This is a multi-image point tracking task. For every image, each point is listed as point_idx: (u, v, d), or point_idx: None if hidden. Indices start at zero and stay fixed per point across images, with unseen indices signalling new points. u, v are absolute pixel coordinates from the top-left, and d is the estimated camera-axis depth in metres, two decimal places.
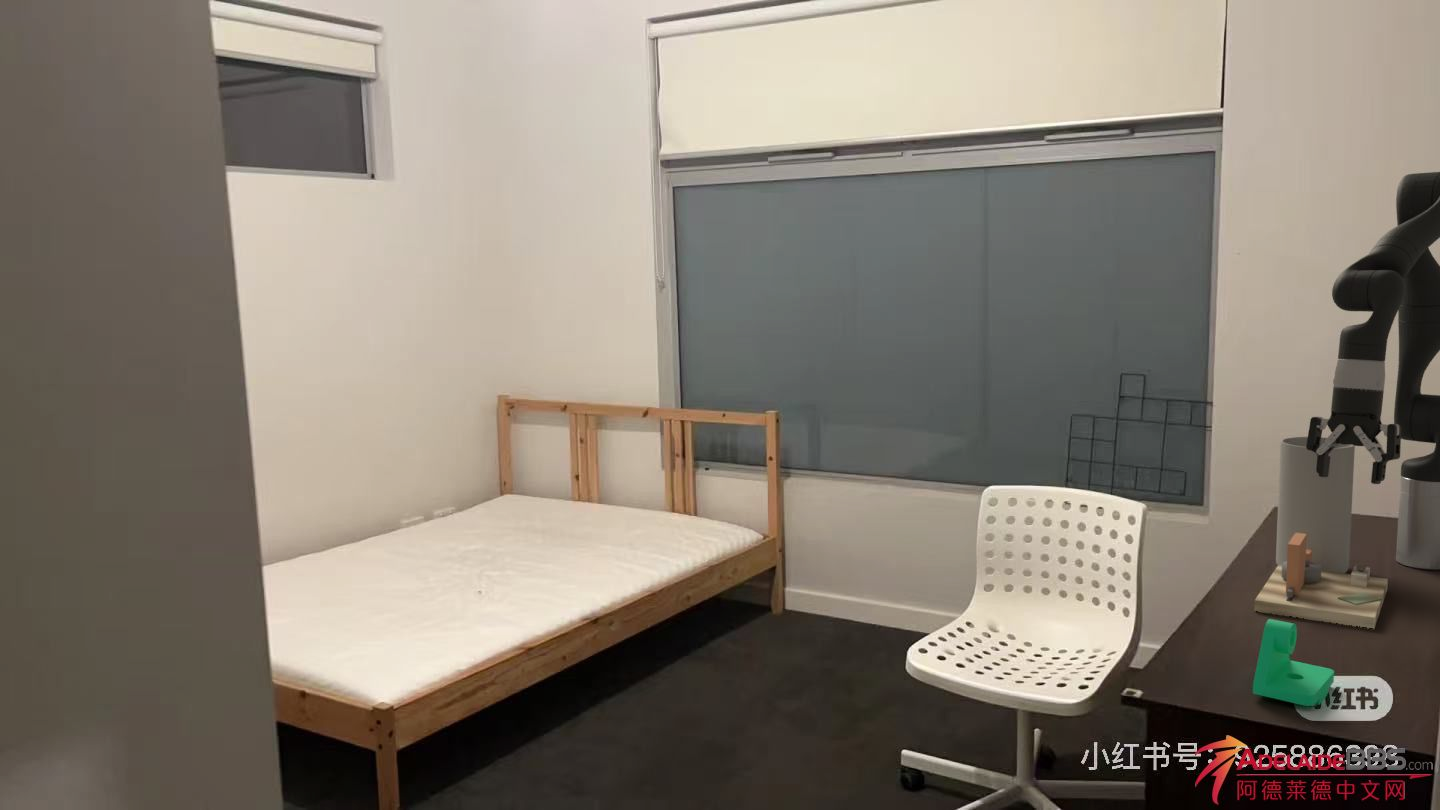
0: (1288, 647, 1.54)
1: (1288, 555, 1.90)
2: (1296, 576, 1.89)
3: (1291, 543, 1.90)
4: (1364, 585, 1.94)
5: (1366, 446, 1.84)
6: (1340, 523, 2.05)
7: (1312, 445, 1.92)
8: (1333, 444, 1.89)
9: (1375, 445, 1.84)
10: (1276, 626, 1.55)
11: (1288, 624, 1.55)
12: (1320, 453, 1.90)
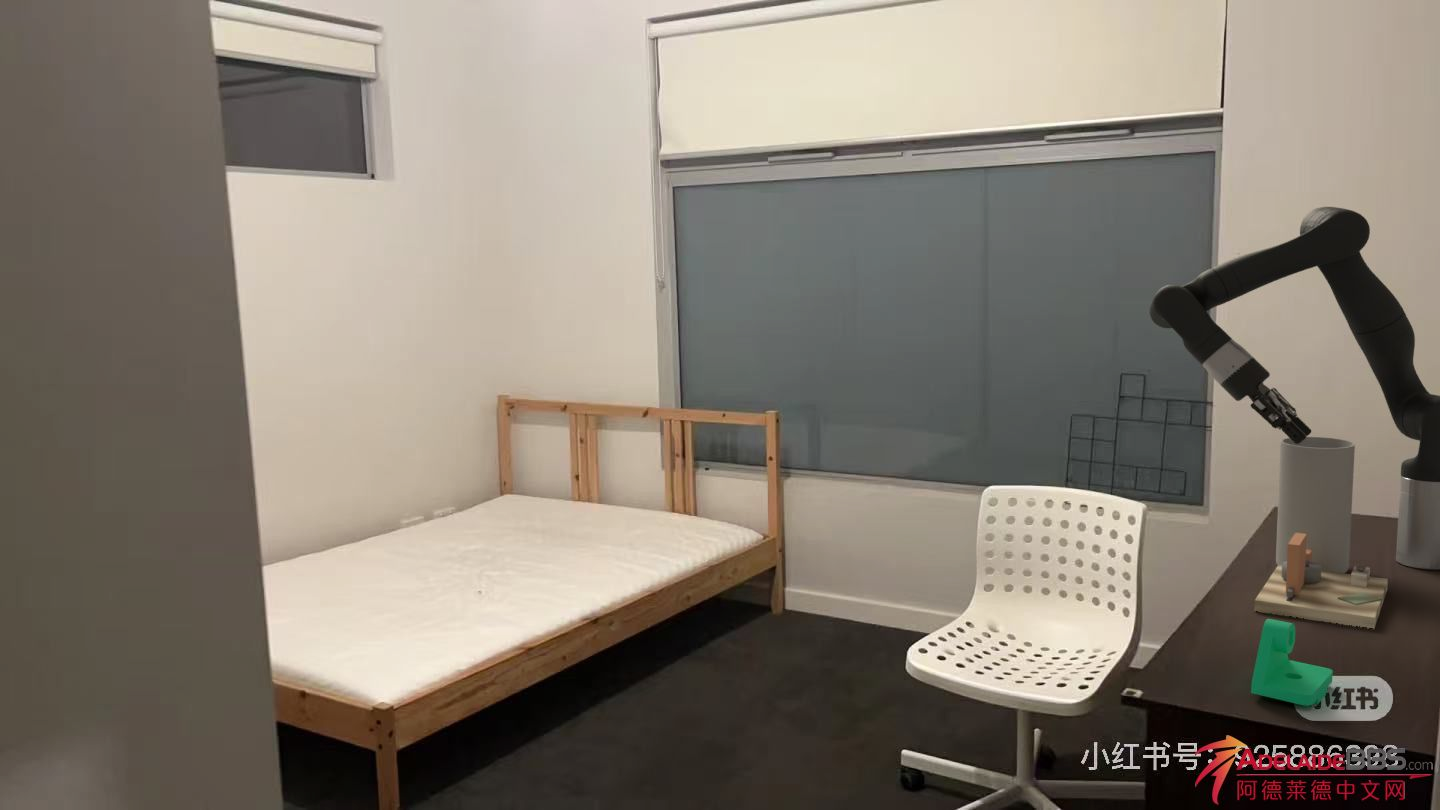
0: (1286, 647, 1.54)
1: (1288, 555, 1.90)
2: (1296, 576, 1.89)
3: (1291, 543, 1.90)
4: (1364, 585, 1.94)
5: None
6: (1340, 523, 2.05)
7: None
8: None
9: (1271, 415, 1.96)
10: (1274, 626, 1.55)
11: (1286, 623, 1.55)
12: None
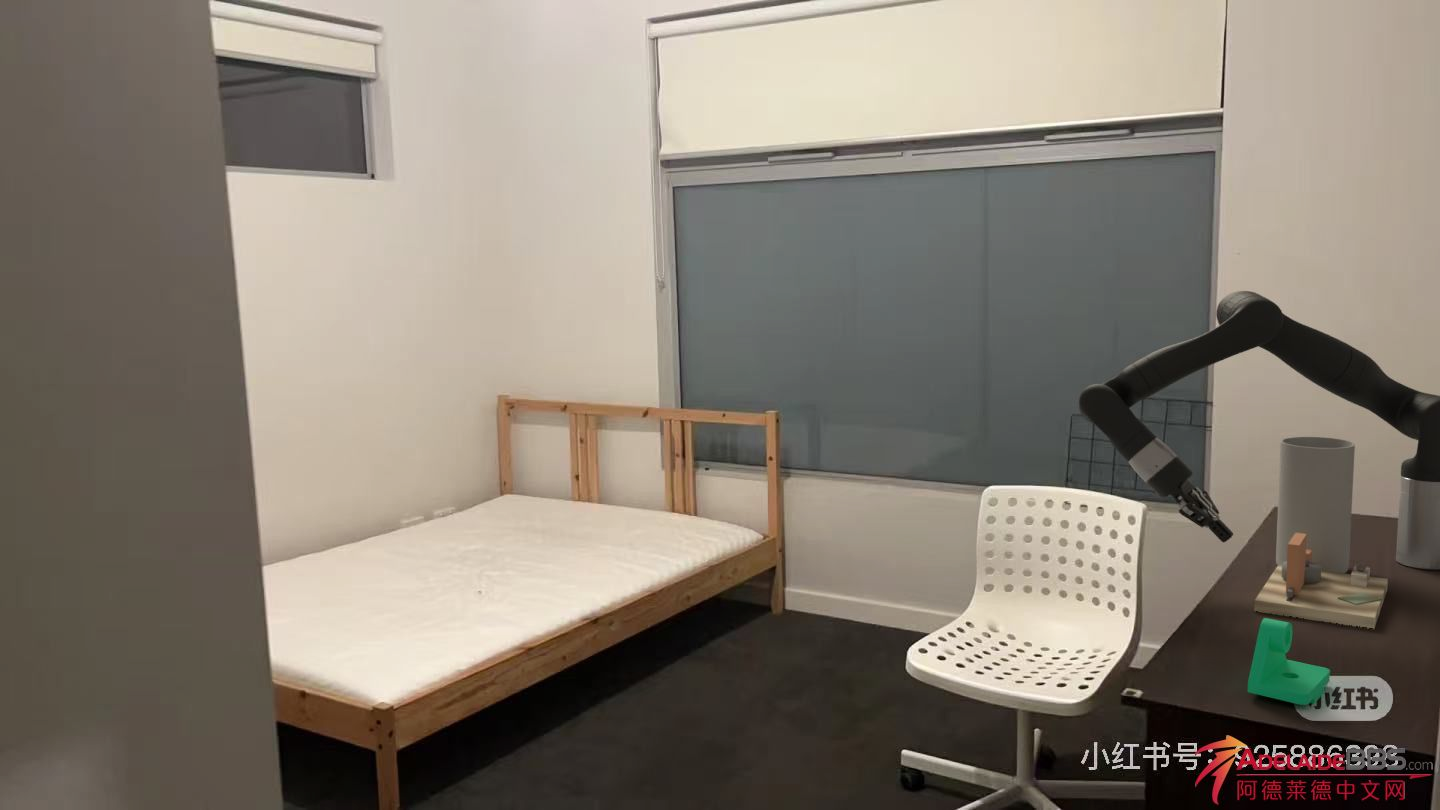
0: (1283, 646, 1.54)
1: (1288, 555, 1.90)
2: (1296, 576, 1.89)
3: (1291, 543, 1.90)
4: (1364, 585, 1.94)
5: None
6: (1340, 523, 2.05)
7: None
8: None
9: None
10: (1271, 625, 1.56)
11: (1283, 623, 1.55)
12: None
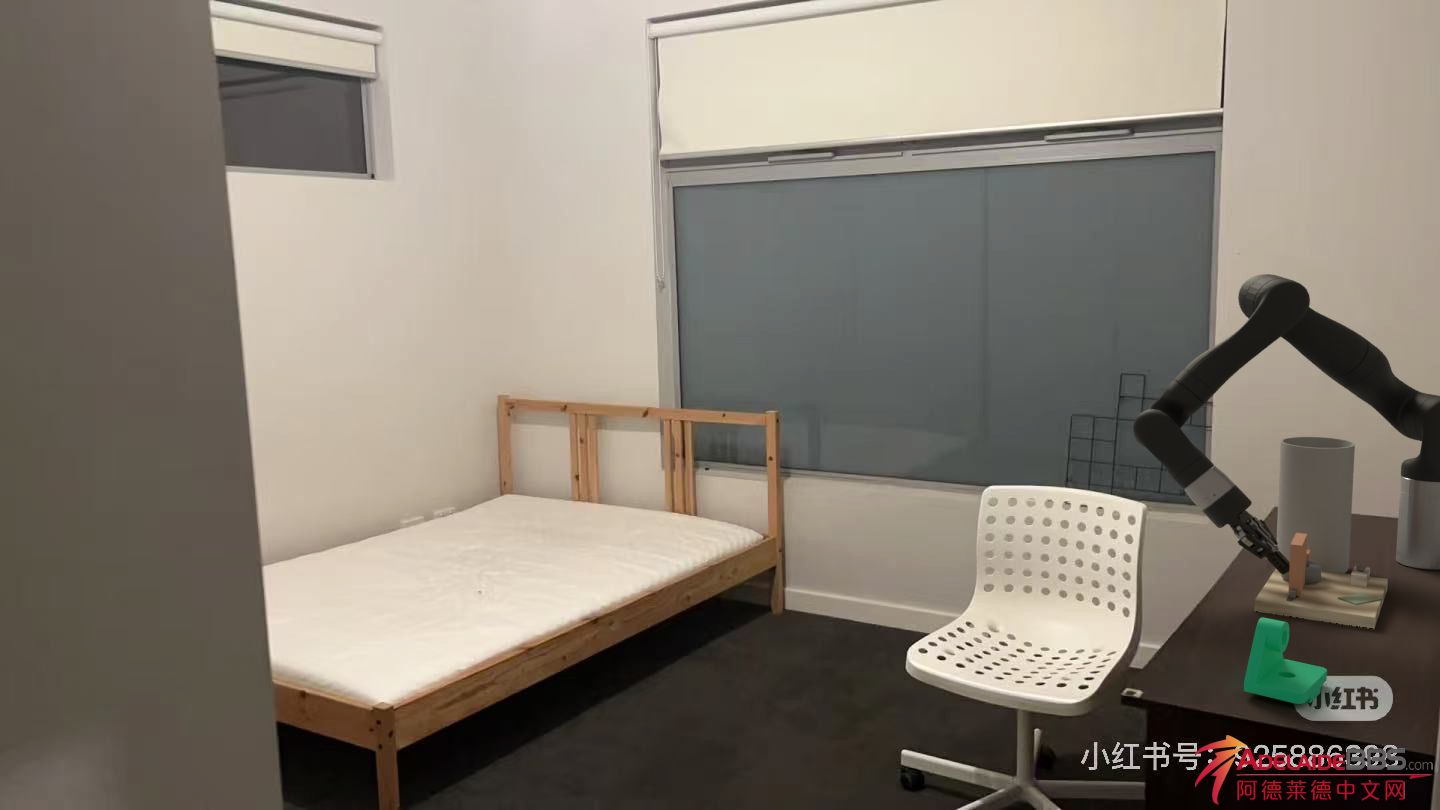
0: (1280, 645, 1.55)
1: (1291, 555, 1.89)
2: (1299, 576, 1.89)
3: (1294, 543, 1.89)
4: (1364, 585, 1.94)
5: None
6: (1340, 523, 2.05)
7: None
8: None
9: None
10: (1268, 624, 1.56)
11: (1280, 622, 1.56)
12: None
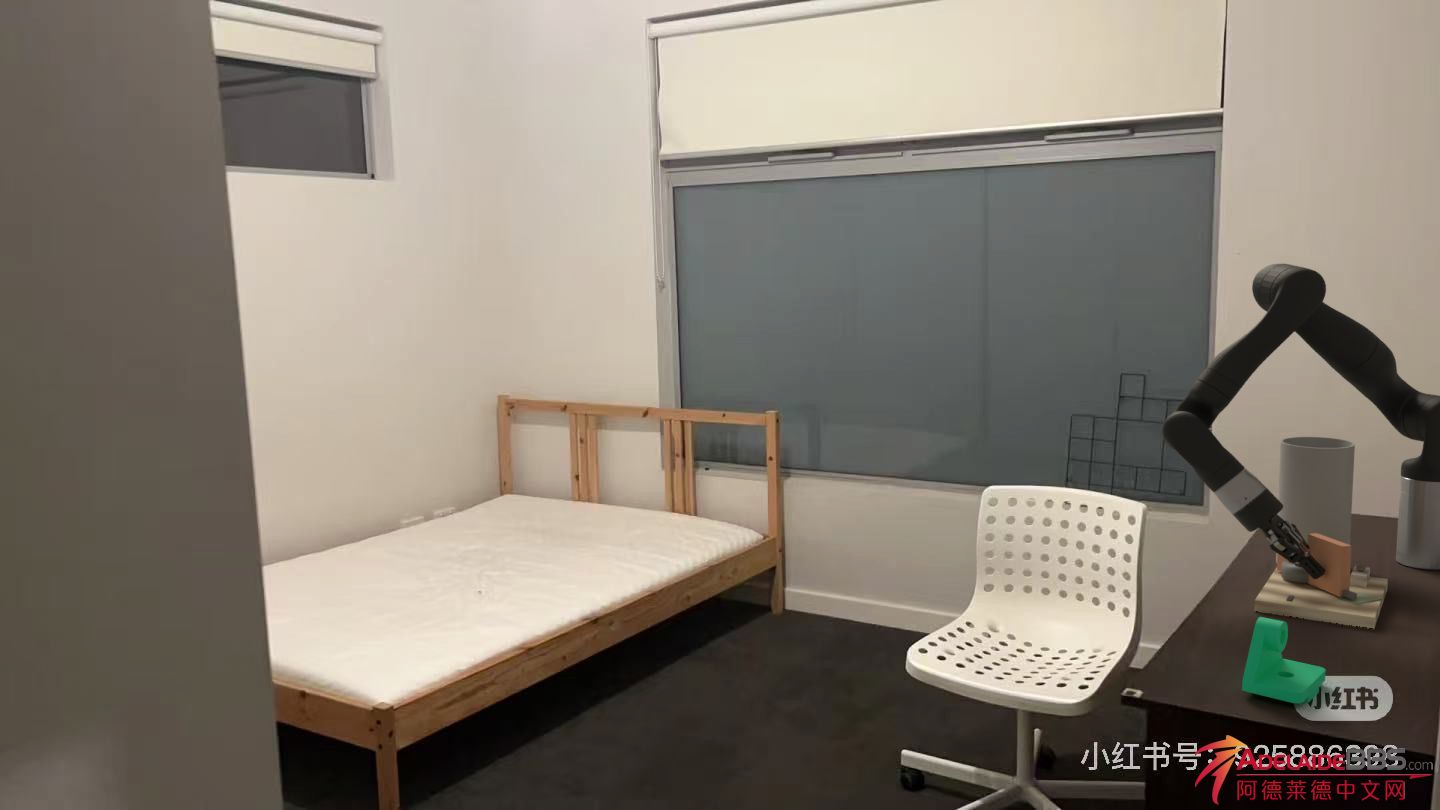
0: (1278, 645, 1.55)
1: (1342, 557, 1.87)
2: (1348, 577, 1.88)
3: (1342, 545, 1.88)
4: (1364, 585, 1.94)
5: None
6: (1340, 523, 2.05)
7: None
8: None
9: None
10: (1266, 624, 1.56)
11: (1278, 622, 1.56)
12: None
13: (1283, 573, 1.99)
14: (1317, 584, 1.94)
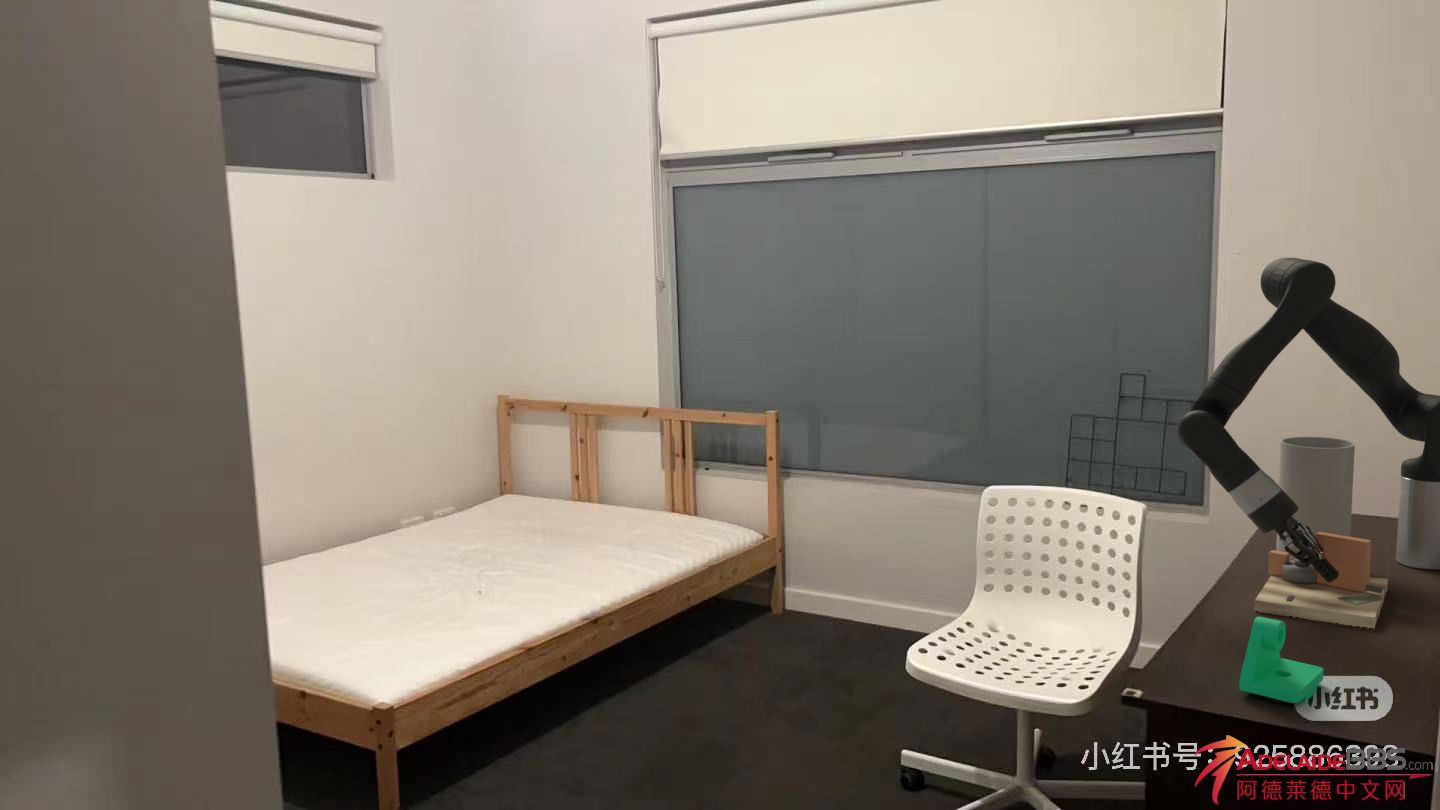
0: (1275, 644, 1.55)
1: (1366, 553, 1.89)
2: (1369, 571, 1.91)
3: (1364, 541, 1.90)
4: None
5: None
6: (1340, 523, 2.05)
7: None
8: None
9: None
10: (1264, 624, 1.56)
11: (1276, 621, 1.56)
12: None
13: (1289, 576, 1.98)
14: (1330, 582, 1.94)
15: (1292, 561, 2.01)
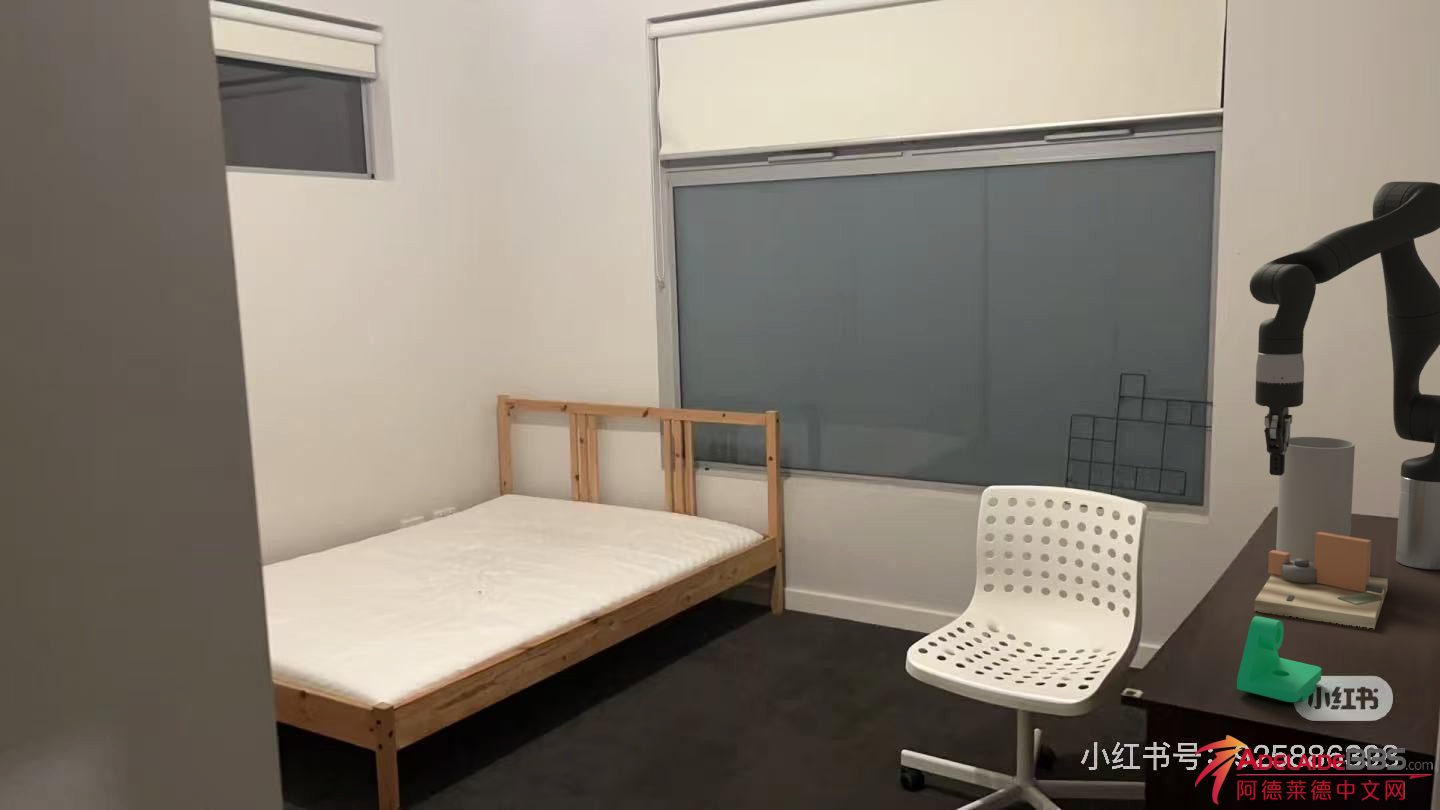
0: (1273, 644, 1.55)
1: (1366, 553, 1.89)
2: (1369, 571, 1.91)
3: (1364, 541, 1.90)
4: None
5: None
6: (1340, 523, 2.05)
7: None
8: None
9: None
10: (1261, 623, 1.57)
11: (1274, 621, 1.56)
12: None
13: (1289, 576, 1.98)
14: (1330, 582, 1.94)
15: (1292, 561, 2.01)
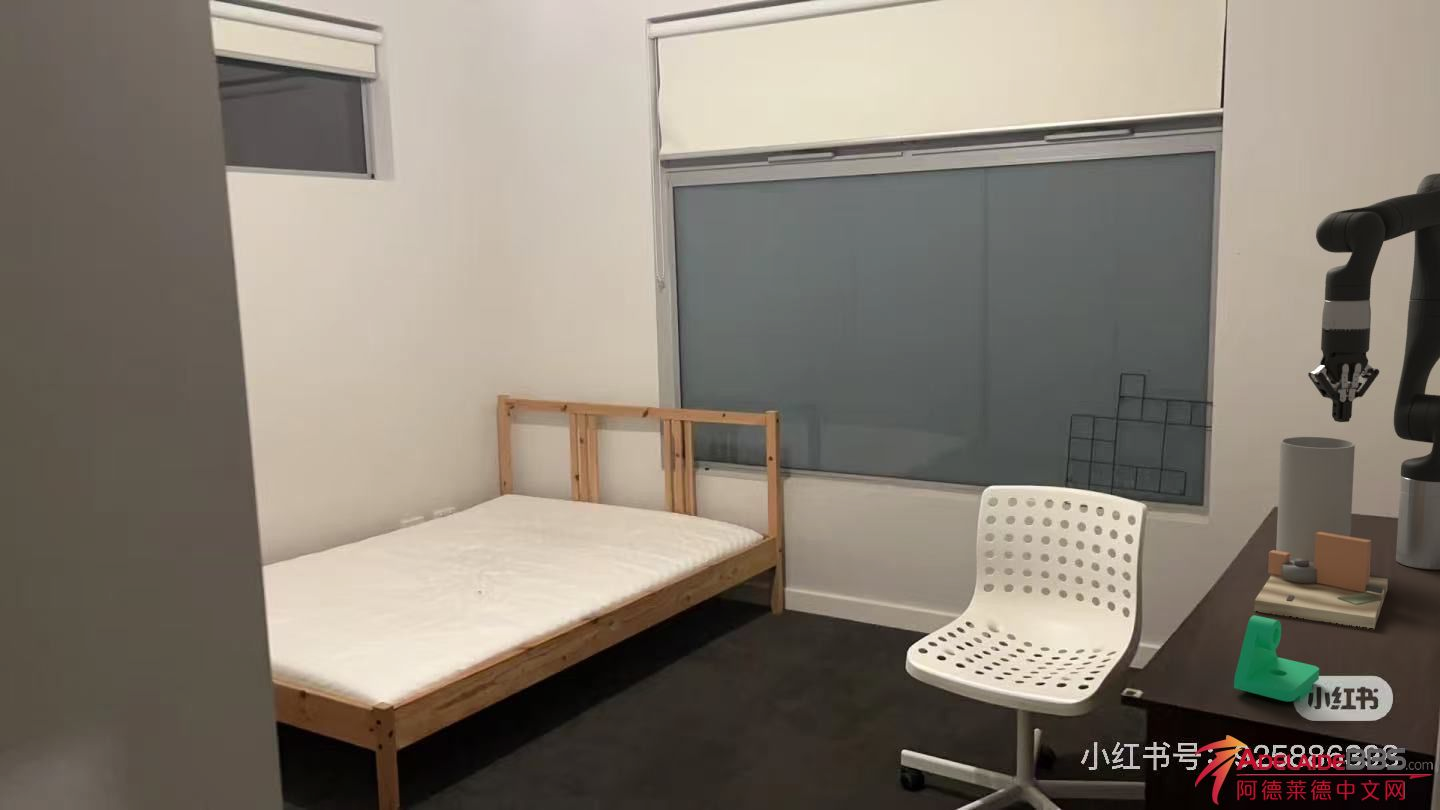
0: (1270, 643, 1.56)
1: (1366, 553, 1.89)
2: (1369, 571, 1.91)
3: (1364, 541, 1.90)
4: None
5: (1353, 384, 1.94)
6: (1340, 523, 2.05)
7: (1335, 392, 1.94)
8: None
9: None
10: (1259, 622, 1.57)
11: (1271, 620, 1.57)
12: (1344, 399, 1.95)
13: (1289, 576, 1.98)
14: (1330, 582, 1.94)
15: (1292, 561, 2.01)
